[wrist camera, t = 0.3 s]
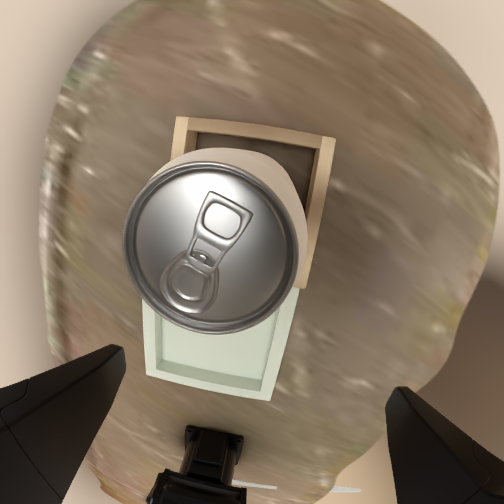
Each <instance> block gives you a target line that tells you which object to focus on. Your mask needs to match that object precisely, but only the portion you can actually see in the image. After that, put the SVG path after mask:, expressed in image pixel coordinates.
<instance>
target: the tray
mask: <svg viewBox="0 0 504 504" xmlns="http://www.w3.org/2000/svg"><path fill="white" fill-rule="evenodd" d="M299 290H300V288H296V287H292V288H291V290H290V292H289V294H288V296H287V297H286V299H285V300H284V302H283V303H282V304H281V306H280V307H279V308H278V309H277V310H276V311H275V312H274V313H273V314H272V315H271V316H269V317H268V318H267V319H265V320H264V321H263V322H261V323H259V324H257V325H256V326H253V327H251V328H249V329H246V330H243V331H240V332H236V333H231V334H222V335H212V334H202V333H197V332H193V331H189V330H186V329H184V328H181V327H179V326H177V325H175V324H173V323H171V322H169V321H167V320H166V319H164V318H163V317H161V316H160V315H159V314H157V313H156V312H155V311H154V310H153V309H152V308H151V307H150V306H149V305H148V304H147V303H146V302H145V301H144V300H143V299H142V304H143V332H144V350H145V364H146V375H150V376H153V377H157V378H160V379H164V380H168V381H172V382H175V383H179V384H183V385H188V386H192V387H196V388H201V389H205V390H210V391H215V392H220V393H225V394H230V395H235V396H241V397H247V398H253V399H259V400H266V401H270V399H271V396H272V392H273V389H274V385H275V382H276V378H277V375H278V371H279V368H280V364H281V360H282V357H283V353H284V349H285V346H286V342H287V338H288V334H289V330H290V326H291V322H292V318H293V314H294V310H295V306H296V302H297V298H298V294H299Z"/></svg>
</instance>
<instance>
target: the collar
mask: <svg viewBox="0 0 504 504" xmlns="http://www.w3.org/2000/svg"><path fill="white" fill-rule="evenodd" d="M198 133H208V134H218V135H226V136H235V137H242V138H250V139H257V140H264V141H270V142H276V143H282V144H288V145H294V146H299V147H305V148H310V149H315V156H314V162H313V168H312V173H311V179H310V185H309V190H308V196H307V201H306V206H305V211H304V214H305V218H306V223H307V232H308V243H307V253H306V258H305V262H304V265H303V268H302V271H301V273H300V275H299V277H298V279H297V281H296V282H295V284H294V286H293V287H296V288H303V289H305V288H306V284H307V280H308V276H309V272H310V267H311V263H312V259H313V254H314V250H315V245H316V241H317V236H318V231H319V227H320V222H321V217H322V212H323V207H324V202H325V197H326V192H327V187H328V181H329V176H330V171H331V165H332V159H333V154H334V148H335V142H336V139H335V138H330V137H326V136H321V135H316V134H311V133H306V132H301V131H295V130H290V129H284V128H278V127H271V126H265V125H258V124H251V123H243V122H235V121H226V120H216V119H205V118H192V117H176V123H175V130H174V137H173V144H172V152H171V161H172V160H173V159H175V158H177V157H179V156H181V155H184V154H186V153H189V152H192V151H195V149H196V142H197V135H198Z"/></svg>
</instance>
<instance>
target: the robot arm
mask: <svg viewBox="0 0 504 504" xmlns="http://www.w3.org/2000/svg"><path fill="white" fill-rule="evenodd" d="M125 371H126V361H125V353H124V349H123V347H121V346H118V345H115V344H110V345H108V346H105V347H103V348H101V349H98V350H96V351H94V352H91V353H89V354H87V355H84V356H82V357H79V358H77V359H75V360H72V361H70V362H67V363H65V364H63V365H60V366H58V367H55V368H53V369H51V370H48V371H45V372H43V373H41V374H38V375H36V376H33V377H31V378H30V379H25V380H23V381H20V382H18V383H15V384H12V385H9V386H6V387H3V388H0V504H61V503H62V502H63V499H64V497H65V495H66V493H67V491H68V489H69V487H70V485H71V483H72V480H73V479H74V477H75V475H76V473H77V471H78V469H79V467H80V465H81V463H82V461H83V459H84V457H85V455H86V453H87V451H88V449H89V447H90V446H91V444H92V442H93V440H94V438H95V436H96V434H97V432H98V430H99V429H100V427H101V425H102V423H103V421H104V419H105V417H106V416H107V414H108V412H109V410H110V408H111V406H112V404H113V401H114V399H115V396H116V394H117V391H118V389H119V386H120V384H121V381H122V379H123V376H124V374H125ZM385 413H386V424H387V436H388V447H389V453H390V458H391V464H392V470H393V476H394V482H395V489H396V496H397V503H398V504H504V461H502V460H501V459H499V458H498V457H496V456H494V455H493V454H491V453H490V452H489V451H487V450H486V449H485V448H483V447H482V446H481V445H479V444H478V443H477V442H476V441H475V440H473V439H472V438H471V437H469V436H468V435H467V434H466V433H464V432H463V431H462V430H461V429H459V428H458V427H457V426H456V425H454V424H453V423H452V422H451V421H449V420H448V419H447V418H446V417H444V416H443V415H442V414H441V413H439V412H438V411H437V410H436V409H434V408H433V407H432V406H431V405H429V404H428V403H427V402H426V401H424V400H423V399H422V398H421V397H419V396H418V395H417V394H416V393H414V392H413V391H412V390H411V389H409V388H408V387H406V386H398V387H396V388H395V389H394V390H393V392H392V394H391V396H390V398H389V399H388V401H387V403H386V407H385ZM243 441H244V438H243V437H241V436H236V435H230V434H225V433H220V432H215V431H210V430H205V429H201V428H196V427H192V426H186V429H185V455H184V458H183V461H182V465H181V468H180V471H179V473H177V472H173V471H170V469H166V468H165V471H164V472H163V473H159V474H158V476H157V479H156V482H155V484H154V486H153V488H152V490H151V491H150V493H149V495H148V497H147V499H146V502H147V504H246V495H247V488H243V487H241V488H239V487H233V486H231V485H232V479H233V473H234V467H235V465H237V464H238V460H239V457H240V453H241V449H242V445H243Z"/></svg>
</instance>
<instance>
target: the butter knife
mask: <svg viewBox="0 0 504 504" xmlns="http://www.w3.org/2000/svg"><path fill="white" fill-rule="evenodd" d="M232 484H235V485H243V486H251V487H259V488H268V489H276V488H277V487H275V486H267V485H260V484H253V483H247V482H242V481H238V480H234V479H232ZM361 491H362V489H357V488H349V487H341V486H334V487H333V488H332V490H331V491H330V492H329V493H355V492H356V493H357V492H361Z"/></svg>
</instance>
